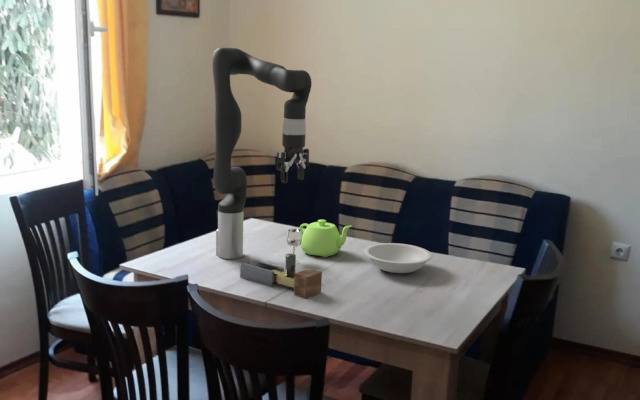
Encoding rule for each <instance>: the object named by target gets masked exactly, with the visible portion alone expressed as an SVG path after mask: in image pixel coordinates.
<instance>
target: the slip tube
mask: <svg viewBox="0 0 640 400" xmlns="http://www.w3.org/2000/svg"><path fill="white" fill-rule="evenodd" d="M296 256H297V254H295V253H294V254H293V253H286V254H285V268H284V272H282V271H278V270H275V269H274V270H271V271H274V282H276V283H279V284H278V285H283V286H287V287H289V288H293V289H294V277H295V273H296V267H297V266H296V265H297V264H296V260H297V259H296V258H297V257H296Z"/></svg>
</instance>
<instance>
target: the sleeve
mask: <svg viewBox="0 0 640 400" xmlns="http://www.w3.org/2000/svg"><path fill="white" fill-rule="evenodd" d="M249 263H250V264H249ZM249 263H247V262H240V266H239V267H240V268H239V269H240V270H239V271H240V272H239V273H240V276H239V277H240V278H241V279H243V280H244V279H245V280H248V281H251V282H255V283H256V284H257V283H258V284H261V285H263V286H264V285H265V286H267V287H271V288H273V287H276V286H278V285H280V284H279V283H276V282H274V271H271V270H274V269H275V270H278V271H282V272H285V268H284V267H283V266H278V265H276V264H272V263H268V262H265V261H262V260H257V259H255V258H252V259H250V262H249Z"/></svg>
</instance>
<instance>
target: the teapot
mask: <svg viewBox="0 0 640 400" xmlns="http://www.w3.org/2000/svg"><path fill="white" fill-rule="evenodd" d="M304 227H306V228H305V230H304V231H303V228H304ZM351 227H352V225H346V226H344V227H343V229H342V232H341V235H340V232H339V230H338V228H337V226H336V225H335V224H334V223H331V222H327V220H326V219H318V220H317V221H314V222H311V223H309V224H308V223H307V222H306V223H302V224H300V226H299V228H298V229H300V230H301V234H302V243H301V245H300V246H299V247H301V248H300V249H301V250H302V251H303V252H304V253H306V255H308V256H320V257H322V258H328V257H329V256H334V255H336V254H337V253H339V251H340V250H341V248H342V246H344V245H345V243H346V240H347V235H348V230H349V229H350V228H351Z"/></svg>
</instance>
